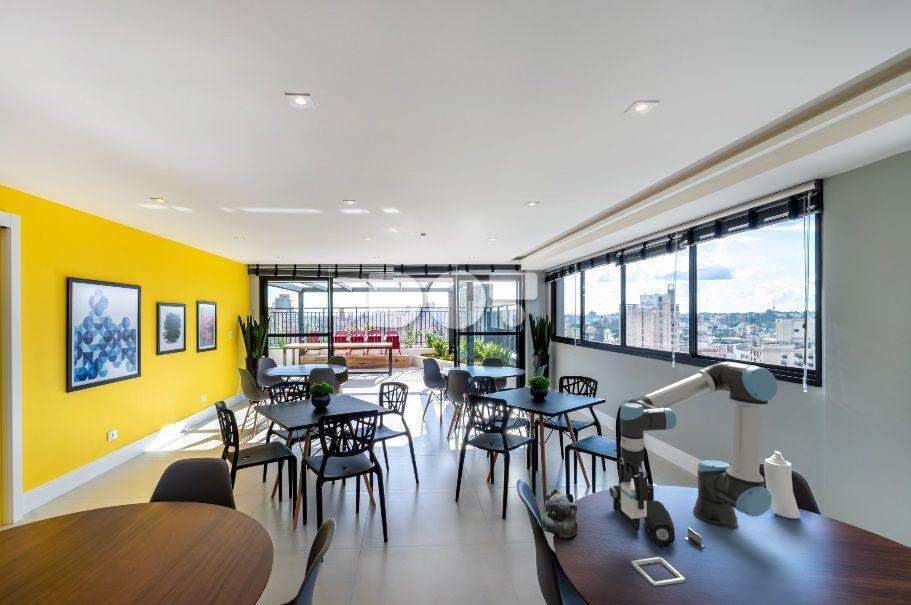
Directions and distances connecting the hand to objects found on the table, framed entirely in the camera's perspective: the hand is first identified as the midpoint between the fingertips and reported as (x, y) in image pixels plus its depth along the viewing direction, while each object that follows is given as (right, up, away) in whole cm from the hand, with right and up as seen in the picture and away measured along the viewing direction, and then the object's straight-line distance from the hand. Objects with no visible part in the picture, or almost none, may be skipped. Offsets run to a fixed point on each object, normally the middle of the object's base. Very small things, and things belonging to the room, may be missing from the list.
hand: (633, 512), depth 144 cm
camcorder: (+12, -12, +19) cm, 25 cm away
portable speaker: (+10, -13, 0) cm, 17 cm away
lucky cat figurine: (-24, -13, +10) cm, 29 cm away
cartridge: (0, 0, 0) cm, 0 cm away
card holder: (+23, -12, +1) cm, 26 cm away
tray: (+1, -12, -16) cm, 20 cm away
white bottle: (+71, -12, +22) cm, 76 cm away
